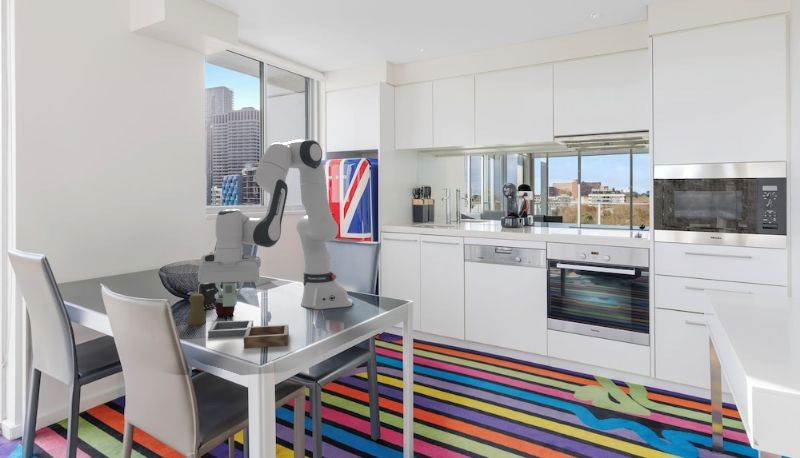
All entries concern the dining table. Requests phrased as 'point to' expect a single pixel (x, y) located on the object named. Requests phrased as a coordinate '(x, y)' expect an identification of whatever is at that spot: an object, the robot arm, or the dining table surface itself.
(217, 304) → the mate gourd
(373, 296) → the dining table surface
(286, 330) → the shallow wooden tray
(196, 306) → the olive waisted shaker
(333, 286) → the robot arm
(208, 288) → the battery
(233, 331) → the shallow grey tray
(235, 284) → the plug
